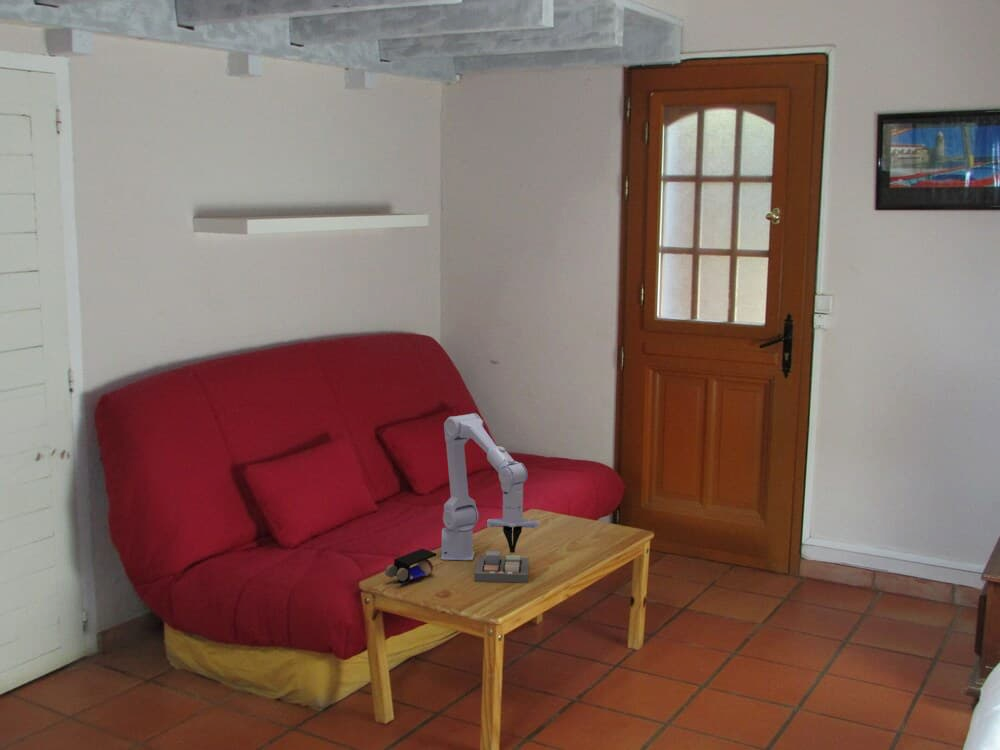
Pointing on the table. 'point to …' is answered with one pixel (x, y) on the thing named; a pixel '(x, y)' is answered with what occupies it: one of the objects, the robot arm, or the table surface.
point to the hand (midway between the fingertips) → (512, 551)
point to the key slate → (492, 558)
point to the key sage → (513, 558)
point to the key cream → (511, 566)
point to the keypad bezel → (502, 572)
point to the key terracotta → (491, 568)
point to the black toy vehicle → (404, 562)
